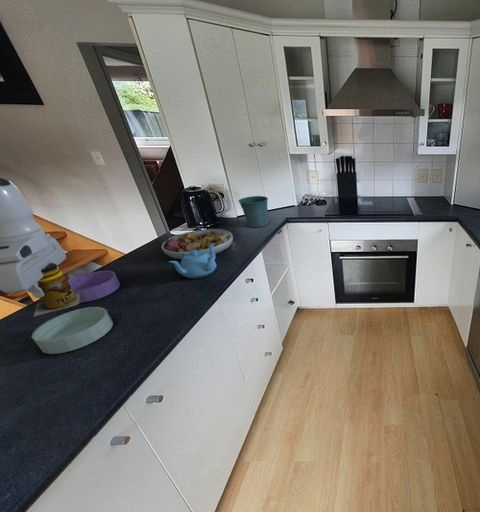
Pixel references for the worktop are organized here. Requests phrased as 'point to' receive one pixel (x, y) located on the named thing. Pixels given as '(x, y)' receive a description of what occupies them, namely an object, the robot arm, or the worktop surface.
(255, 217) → the flower pot
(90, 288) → the lavender bowl
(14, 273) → the robot arm
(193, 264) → the teapot
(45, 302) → the condiment
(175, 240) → the bowl
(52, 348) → the celadon bowl
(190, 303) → the worktop surface
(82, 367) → the worktop surface
